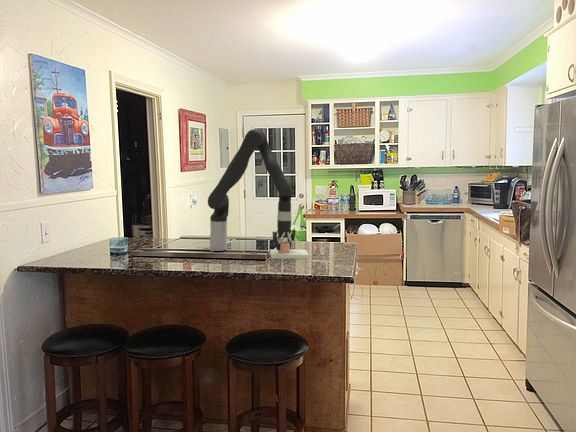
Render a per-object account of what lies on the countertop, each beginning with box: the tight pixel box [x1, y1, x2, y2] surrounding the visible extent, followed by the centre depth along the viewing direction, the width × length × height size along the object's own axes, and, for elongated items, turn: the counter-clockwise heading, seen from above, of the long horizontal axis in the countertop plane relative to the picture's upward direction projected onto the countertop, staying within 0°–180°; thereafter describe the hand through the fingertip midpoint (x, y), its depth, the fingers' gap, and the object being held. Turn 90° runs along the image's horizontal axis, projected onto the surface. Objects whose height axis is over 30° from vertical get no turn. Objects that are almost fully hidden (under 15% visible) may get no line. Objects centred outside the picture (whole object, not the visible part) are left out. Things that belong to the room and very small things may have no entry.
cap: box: [278, 240, 291, 253], centre depth 261 cm, size 6×6×6 cm
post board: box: [269, 249, 310, 260], centre depth 262 cm, size 20×14×6 cm
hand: (283, 249), depth 262 cm, fingers closed on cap, 6 cm apart
